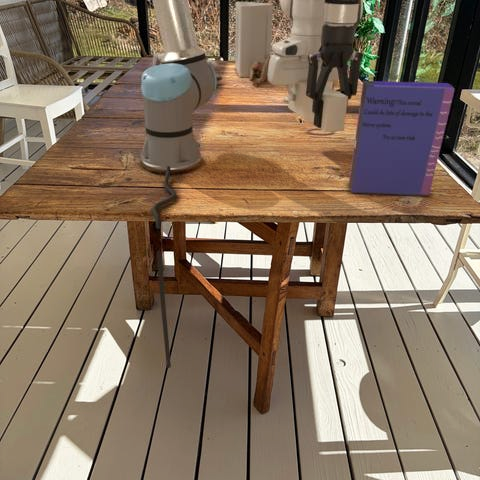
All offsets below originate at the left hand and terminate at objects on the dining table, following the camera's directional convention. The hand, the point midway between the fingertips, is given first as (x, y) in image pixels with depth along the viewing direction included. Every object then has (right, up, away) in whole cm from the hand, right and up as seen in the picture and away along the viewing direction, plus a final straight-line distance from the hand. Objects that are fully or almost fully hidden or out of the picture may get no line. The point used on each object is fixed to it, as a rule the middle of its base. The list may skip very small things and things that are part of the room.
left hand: (327, 124), depth 120 cm
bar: (-2, +3, +7) cm, 8 cm away
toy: (-47, +52, +104) cm, 126 cm away
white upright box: (-16, +48, +98) cm, 110 cm away
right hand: (-5, +10, +11) cm, 15 cm away
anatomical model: (-14, +37, +80) cm, 89 cm away
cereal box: (+12, -17, -9) cm, 23 cm away
